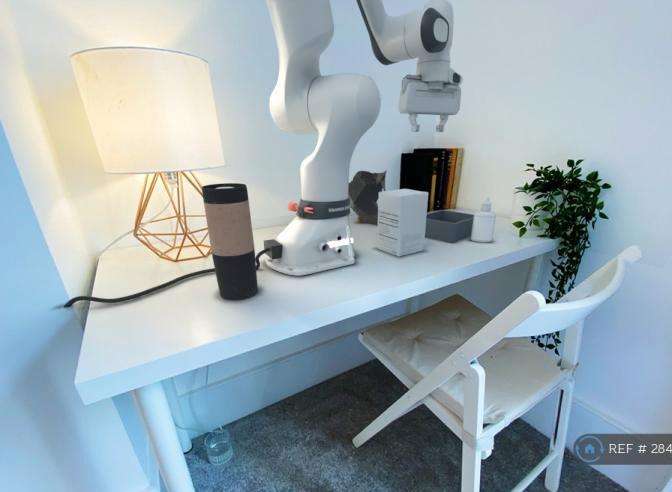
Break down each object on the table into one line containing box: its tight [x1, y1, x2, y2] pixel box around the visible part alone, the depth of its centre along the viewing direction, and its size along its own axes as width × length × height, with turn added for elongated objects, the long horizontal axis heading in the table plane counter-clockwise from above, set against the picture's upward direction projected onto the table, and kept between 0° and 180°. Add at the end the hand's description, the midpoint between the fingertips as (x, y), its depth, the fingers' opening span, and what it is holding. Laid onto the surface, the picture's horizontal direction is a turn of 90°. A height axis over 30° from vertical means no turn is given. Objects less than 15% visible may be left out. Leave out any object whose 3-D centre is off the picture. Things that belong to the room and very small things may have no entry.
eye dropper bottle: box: [470, 197, 497, 243], centre depth 94 cm, size 4×6×12 cm
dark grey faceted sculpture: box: [348, 169, 388, 226], centre depth 115 cm, size 14×15×18 cm
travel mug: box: [201, 182, 259, 301], centre depth 62 cm, size 8×8×20 cm
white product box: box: [376, 188, 429, 258], centre depth 87 cm, size 9×9×15 cm
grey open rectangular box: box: [425, 209, 474, 244], centre depth 103 cm, size 15×13×5 cm
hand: (427, 131), depth 99 cm, fingers open, 8 cm apart
